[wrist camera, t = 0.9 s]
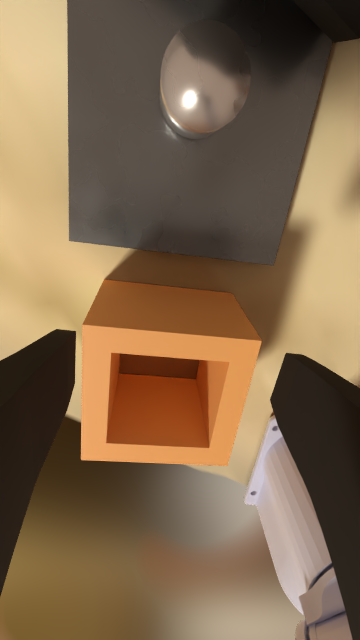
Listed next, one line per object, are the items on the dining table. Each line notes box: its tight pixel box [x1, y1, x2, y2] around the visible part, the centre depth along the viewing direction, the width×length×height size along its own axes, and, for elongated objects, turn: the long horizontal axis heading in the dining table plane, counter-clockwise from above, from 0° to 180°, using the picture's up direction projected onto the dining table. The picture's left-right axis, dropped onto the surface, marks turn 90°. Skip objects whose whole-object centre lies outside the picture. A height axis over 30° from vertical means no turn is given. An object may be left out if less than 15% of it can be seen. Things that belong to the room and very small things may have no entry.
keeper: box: [67, 0, 333, 265], centre depth 13 cm, size 14×11×4 cm
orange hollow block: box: [81, 279, 262, 466], centre depth 18 cm, size 8×8×6 cm
